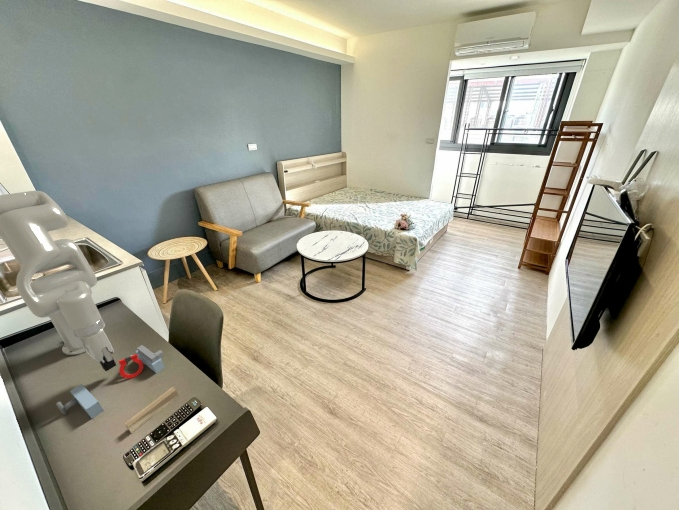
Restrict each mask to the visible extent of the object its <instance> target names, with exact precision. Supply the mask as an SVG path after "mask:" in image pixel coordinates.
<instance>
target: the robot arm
mask: <svg viewBox="0 0 679 510" xmlns="http://www.w3.org/2000/svg"><path fill="white" fill-rule="evenodd" d="M68 224H69V220H68V217H67V215H66V213H65V212H64V210H63V209H62V208H61V207H60V206H59V204H58V203H57V202H55V200H54V199H53V198H52V197H51V196H49V195H48V194H47V193H46V192H44V191H42V190H29V191H23V192H20V191H19V192H15V193H6V194H0V239H1V240H2V241H3V242H4V243H5V245H6V246H7V248H8V250H9V251H10V253H11V254H12V257H14V259H15V261H16V262H17V263H18V265H19V266H20V268H19V271H18V273H17V276H16V283H15V284H16V288H17V289H16V290H17V292H18V294H19V295H20V297H21V299H22V300H23V302H24V303H25V305H26V307H27V308H28V309H29V311H30V312H31V313H32V314H33V315H34V316H35V317H37V318H49V319H50V321H51V323H52V324H53V326H54V327H55V329H56V332H57V333H58V335H59V336H60V338H61V339H62V342H63V343H64V344H63V346H62V348H61V351H62V353H63V354H65V355H67V356H74V355H80V354H83V353H85V352H86V353H87V354H88V355H89V356H90V357H91V358H92V359H93V360H94V361H95V362H97V363H99V364H100V365H101V367H102V369H103V370H104V371H105V372H108V371H109V370H112V369H113V368H114V367H116V366H117V364H116V362H115V360H114V357H113V356H112V355H114V354H115V350H114V347H113V345H112V343H111V341H110V340H109V338H108V336H107V334H106V333H105V331H104V328H105V327H106V323H105V321H104V320H103V317H102V315H101V313H100V311H99V310H98V307H97V306H96V303H95V301H94V299H93V297H92V294H93V291H92V289H91V288H93V287H95V286H96V285H97V283H98V279H97V276H96V274H95V272H94V270H93V269H92V267H91V266H90V263H89V262H88V260H87V258H86V256H85V255H84V252H83V251H82V249H80V247H79V245H78V244H77V243H76V242H75V241H73V240H72V239H69V238H60V239H55V240H54V239H53V238H52V236H51V234H50V233H49V232H52V231H56V230H60V229H61V230H62V229H65V228H66V227H68ZM65 266H71V267H69V268H67V269H63V270H60V271H55V272H53V273H49V274H46V275H43V276H41V277H38V278H36V279H35V280H32V278H33V276H34V275H36V274H41V273H44V272H49V271H51V270H55V269H58V268H61V267H65Z"/></svg>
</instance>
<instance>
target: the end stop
mask: <svg viewBox="0 0 679 510" xmlns="http://www.w3.org/2000/svg"><path fill="white" fill-rule="evenodd" d="M178 396H179V394H178V391H177V389H176V388H175V387H174V386H172V387H170V388H169V389H168V390H166V391H165V392H164V393H162V394H161V395H159V397H157V398H156V399H155V400H153V401H152V402H151V403H150V404H148V405H147V406H146V407H144V408H142V410H140V411H139V412H137V413H136V414H135V415H133V416H132V417H131V418H130V419H128V420H127V421H126V422H124V424H125V428H126V429H127V430H128V431H129V432H130V434H133V433H134V432H135V431H137V430H138V429H139V428H141V427H142V426H143V425H144V424H145V423H147V422H148V421H149V420H151V419H152V418H153V417H154V416H155V415H157V414H158V413H160V411H161V410H163V409H164V408H165V407H166V406H168V405H169V404H170V403H171V402H172V401H174V400H175V399H176V398H177V397H178Z"/></svg>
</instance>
